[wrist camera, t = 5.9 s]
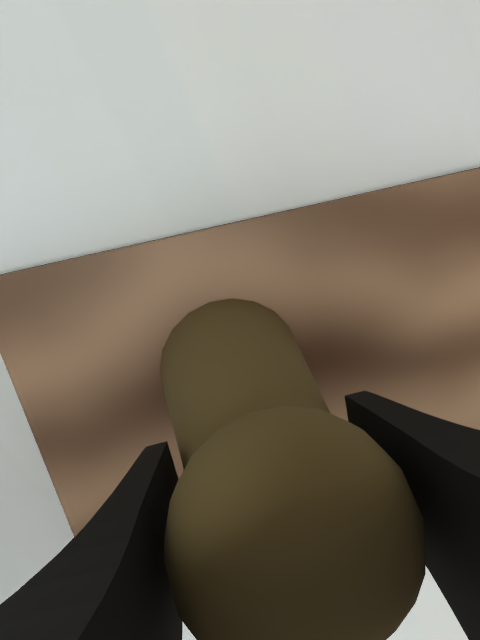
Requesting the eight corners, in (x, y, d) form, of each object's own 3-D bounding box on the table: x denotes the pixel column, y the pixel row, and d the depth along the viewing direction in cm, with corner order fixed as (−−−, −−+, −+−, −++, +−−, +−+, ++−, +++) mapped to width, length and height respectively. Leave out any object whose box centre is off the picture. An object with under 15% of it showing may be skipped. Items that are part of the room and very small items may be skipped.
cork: (137, 326, 16) (66, 543, 6) (279, 278, 16) (463, 396, 6) (187, 449, 18) (205, 790, 7) (314, 403, 18) (503, 665, 8)
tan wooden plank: (498, 439, 22) (574, 495, 18) (96, 549, 20) (72, 638, 16) (487, 165, 18) (581, 149, 14) (-10, 276, 17) (-80, 297, 12)
